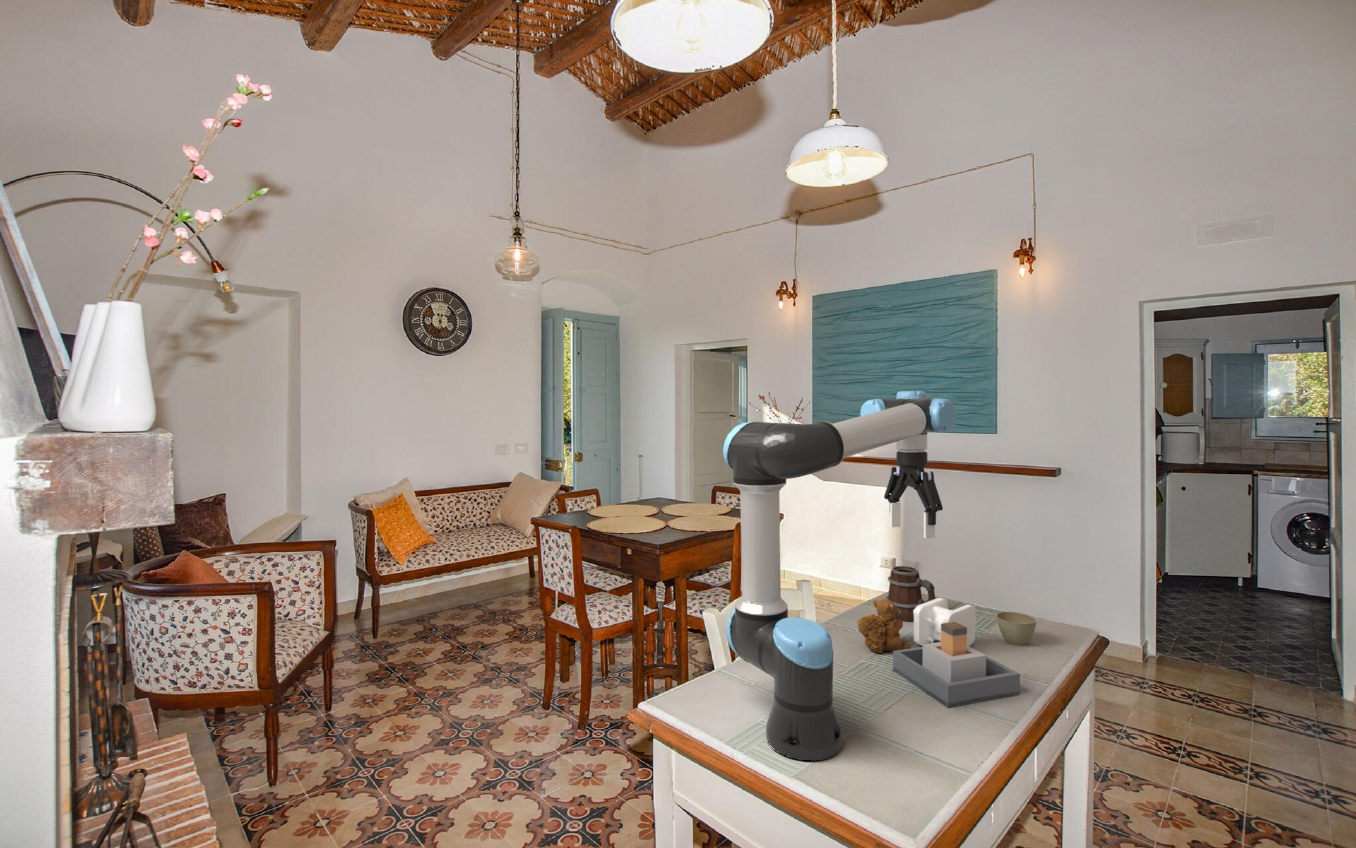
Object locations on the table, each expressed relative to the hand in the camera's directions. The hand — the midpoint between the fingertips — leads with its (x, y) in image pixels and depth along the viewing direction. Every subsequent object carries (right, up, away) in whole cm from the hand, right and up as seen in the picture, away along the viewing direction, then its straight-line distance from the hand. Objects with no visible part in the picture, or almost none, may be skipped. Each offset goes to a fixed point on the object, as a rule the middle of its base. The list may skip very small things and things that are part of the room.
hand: (911, 532), depth 158 cm
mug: (+13, -33, +35) cm, 50 cm away
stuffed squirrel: (-4, -35, +11) cm, 37 cm away
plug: (+7, -31, -10) cm, 33 cm away
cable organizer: (+14, -34, +12) cm, 39 cm away
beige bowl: (+35, -34, +14) cm, 51 cm away
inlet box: (+7, -35, -9) cm, 37 cm away
